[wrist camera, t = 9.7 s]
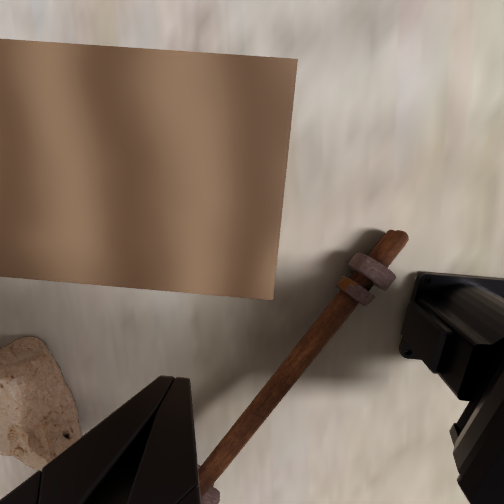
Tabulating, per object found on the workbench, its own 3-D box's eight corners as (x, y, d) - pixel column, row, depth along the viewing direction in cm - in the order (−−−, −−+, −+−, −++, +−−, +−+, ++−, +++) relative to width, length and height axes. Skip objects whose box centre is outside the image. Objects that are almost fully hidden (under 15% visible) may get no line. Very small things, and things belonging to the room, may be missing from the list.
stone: (64, 327, 23) (11, 369, 18) (101, 442, 26) (63, 504, 21) (-41, 334, 23) (-119, 377, 19) (8, 445, 27) (-49, 505, 22)
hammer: (102, 508, 26) (23, 689, 16) (325, 204, 24) (391, 196, 14) (167, 542, 27) (130, 734, 17) (386, 252, 25) (490, 275, 15)
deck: (290, 83, 17) (297, 59, 13) (271, 275, 21) (272, 300, 17) (22, 64, 18) (-46, 35, 14) (47, 256, 21) (-3, 276, 17)
